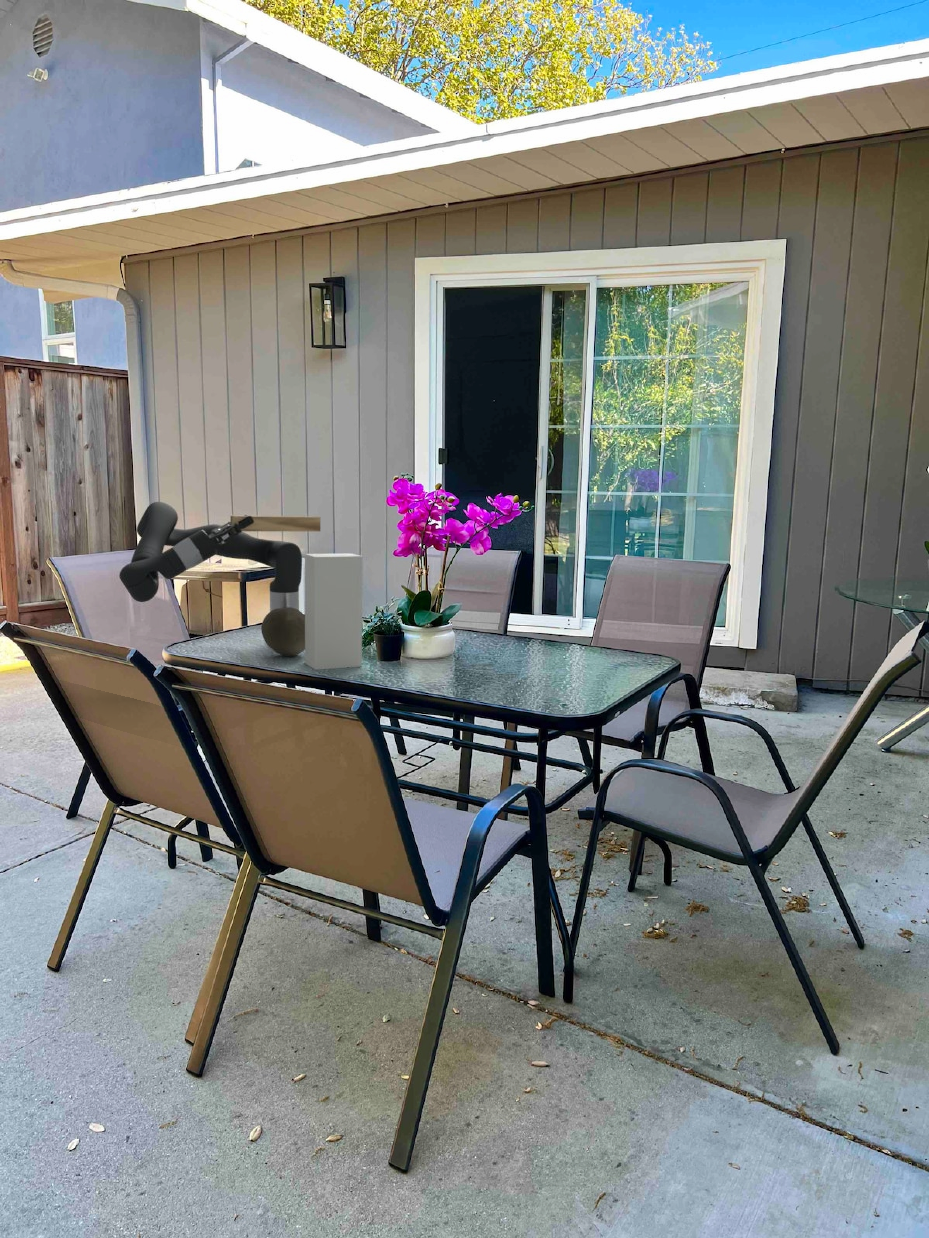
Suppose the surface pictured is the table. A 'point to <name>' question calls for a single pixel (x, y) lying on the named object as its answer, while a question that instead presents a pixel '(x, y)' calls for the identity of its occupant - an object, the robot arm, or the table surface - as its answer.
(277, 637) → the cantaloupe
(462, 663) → the table surface
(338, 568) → the pedestal
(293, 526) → the oak slat
